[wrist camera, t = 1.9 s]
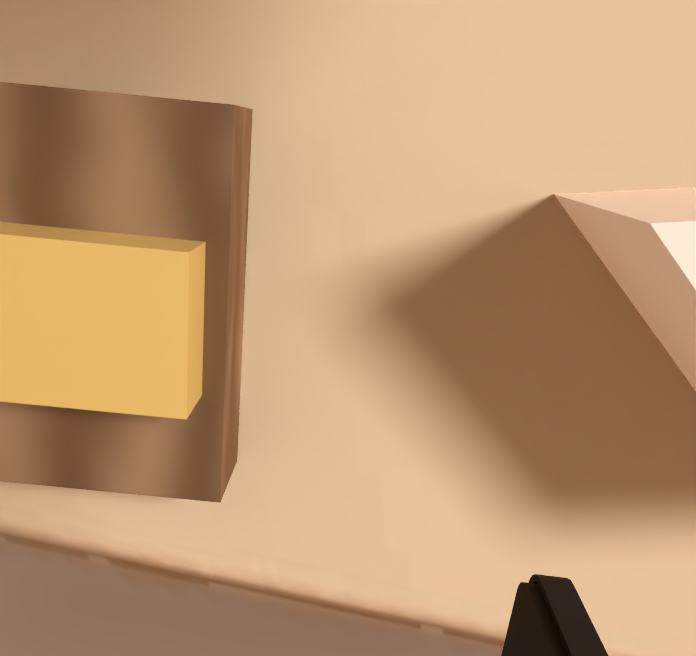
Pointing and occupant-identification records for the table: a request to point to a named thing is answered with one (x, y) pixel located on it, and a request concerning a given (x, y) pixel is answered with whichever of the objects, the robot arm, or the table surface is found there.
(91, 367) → the yellow sticky note pad
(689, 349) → the white rectangular block
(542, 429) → the table surface
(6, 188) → the plate
